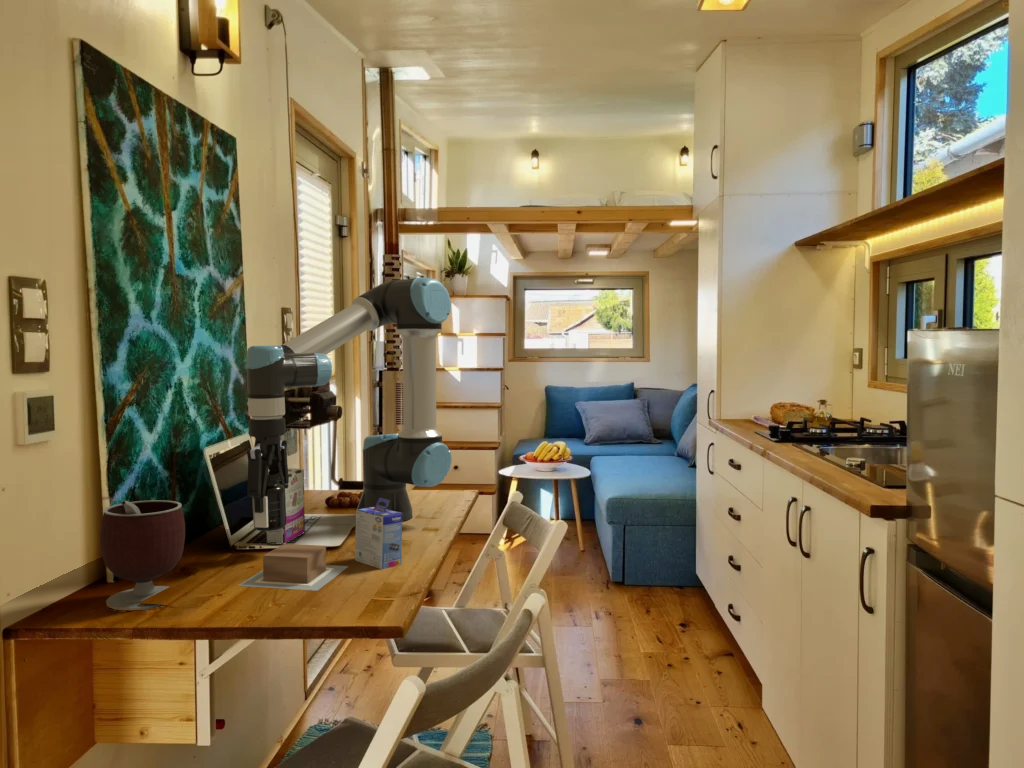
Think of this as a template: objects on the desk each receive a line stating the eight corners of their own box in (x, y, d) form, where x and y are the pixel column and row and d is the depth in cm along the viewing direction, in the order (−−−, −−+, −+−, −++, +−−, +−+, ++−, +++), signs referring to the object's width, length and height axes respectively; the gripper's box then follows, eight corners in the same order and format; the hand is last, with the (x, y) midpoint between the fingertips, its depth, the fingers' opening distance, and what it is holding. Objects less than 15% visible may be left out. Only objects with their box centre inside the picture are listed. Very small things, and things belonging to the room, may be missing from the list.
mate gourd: (120, 588, 143) (119, 484, 142) (196, 587, 144) (195, 484, 143) (82, 617, 128) (80, 501, 127) (166, 615, 129) (165, 500, 128)
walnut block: (284, 567, 154) (284, 543, 153) (326, 570, 152) (326, 545, 152) (263, 581, 145) (263, 555, 144) (307, 583, 143) (307, 557, 143)
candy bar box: (286, 532, 188) (286, 467, 187) (305, 534, 187) (305, 468, 186) (264, 544, 177) (264, 475, 176) (284, 545, 176) (284, 476, 175)
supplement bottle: (252, 525, 164) (250, 471, 163) (284, 522, 167) (283, 469, 166) (254, 533, 158) (253, 476, 157) (288, 529, 160) (286, 474, 160)
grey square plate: (276, 567, 158) (276, 561, 157) (348, 571, 155) (348, 565, 155) (237, 591, 142) (237, 585, 142) (317, 596, 139) (317, 590, 139)
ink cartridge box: (403, 569, 157) (403, 501, 157) (382, 575, 153) (382, 505, 152) (374, 560, 164) (374, 495, 163) (353, 565, 160) (353, 498, 159)
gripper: (272, 412, 171) (274, 511, 173) (226, 422, 152) (229, 534, 153) (303, 412, 170) (305, 512, 171) (260, 422, 150) (264, 535, 152)
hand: (269, 522), depth 162 cm, fingers closed on supplement bottle, 7 cm apart
